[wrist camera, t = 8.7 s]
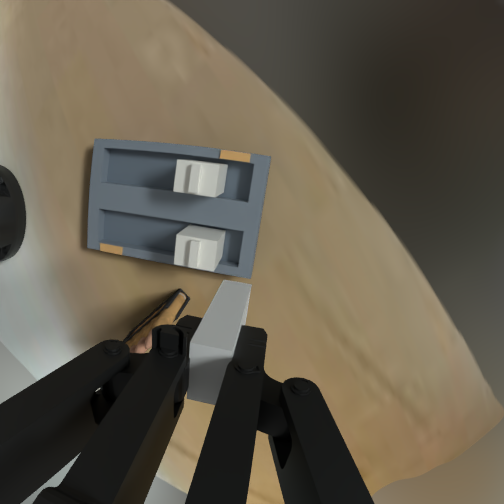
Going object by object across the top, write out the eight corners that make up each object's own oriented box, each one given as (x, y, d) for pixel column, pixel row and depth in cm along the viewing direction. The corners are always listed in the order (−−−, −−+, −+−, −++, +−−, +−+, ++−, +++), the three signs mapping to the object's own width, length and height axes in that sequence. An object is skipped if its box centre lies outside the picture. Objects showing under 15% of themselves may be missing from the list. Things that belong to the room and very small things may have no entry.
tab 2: (187, 250, 35) (172, 266, 30) (190, 224, 35) (174, 235, 29) (222, 256, 35) (212, 273, 30) (225, 230, 34) (216, 242, 29)
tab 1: (187, 187, 33) (171, 192, 28) (191, 159, 33) (175, 159, 27) (223, 192, 33) (213, 198, 28) (227, 164, 33) (218, 164, 27)
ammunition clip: (180, 287, 38) (144, 336, 27) (190, 298, 39) (159, 350, 27) (130, 331, 41) (89, 382, 29) (139, 341, 41) (102, 394, 30)
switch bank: (98, 242, 38) (86, 248, 35) (105, 139, 34) (93, 138, 31) (252, 270, 37) (250, 279, 34) (271, 157, 33) (270, 156, 31)
